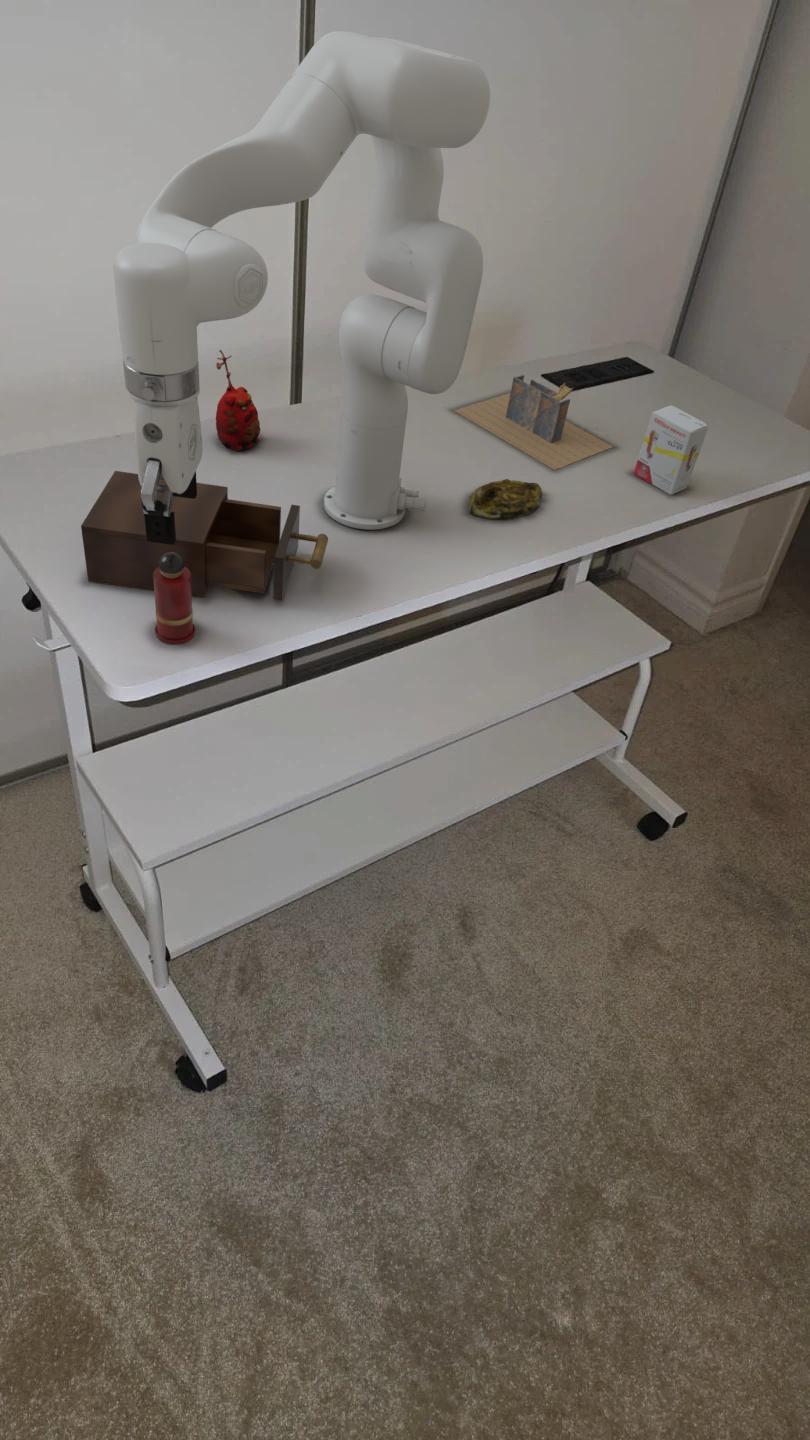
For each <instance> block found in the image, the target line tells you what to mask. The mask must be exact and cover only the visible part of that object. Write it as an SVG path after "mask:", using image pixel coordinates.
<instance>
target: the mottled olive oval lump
mask: <svg viewBox="0 0 810 1440" xmlns="http://www.w3.org/2000/svg"><path fill="white" fill-rule="evenodd" d="M542 497H543V490H542V487H541V485H540V484H539V483H537V482H527V481H526V482H525V481H521V480H514V479H508V478H505V479H502V480H497V481H492V482H491V481H490V482H488V483H486V484H483V485H481V486H479V487H478V488H475V490H473V492H472V494H471V495H470V497H469V500H468V511H469V513H470V514H471V515H473V516H476V517H479V518H483V519H487V520H498V521H499V520H500V521H506V520H511V519H512V520H513V519H515V518H517V517H520V516H524V515H525V516H526V515H529V514H531V513H532V512H534V511H536V510H537V509H538V508H539V506H540V504H541V501H542Z"/></svg>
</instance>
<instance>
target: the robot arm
mask: <svg viewBox="0 0 810 1440" xmlns="http://www.w3.org/2000/svg"><path fill="white" fill-rule="evenodd" d="M490 89H491V88H490V83H489V80H488V77H487V75H486V72H485V71H484V69H483V68H482V65H480V64H478V63H477V62H476V61H475V60H473V59H470V58H467V57H463V56H460V55H456V54H453V53H449V52H444V51H441V50H436V49H434V48H429V47H427V46H423V45H419V44H416V43H411V42H407V41H403V40H401V39H396V38H391V37H382V36H381V37H375V36H374V37H373V36H370V35H366V34H363V33H362V34H361V33H358V32H354V31H348V30H335V31H331V32H328V33H326V34H325V35H322V36H321V37H320V38H319V39H318V40H317V41H316V42H315V43H314V44H313V46H312V47H311V48H310V50H309V51H308V52H307V54H306V55H305V56H304V58H303V60H302V61H301V62H300V63H299V65H298V66H297V68H296V69H295V70H294V71H293V73H292V75H291V76H290V77H289V79H288V80H287V82H286V83H285V85H284V86H283V87H282V89H281V90H280V92H279V93H278V94H277V96H276V97H275V98H274V100H273V101H272V103H271V104H270V105H269V107H268V108H267V110H266V111H265V113H264V114H263V116H262V117H261V119H260V120H259V121H258V122H257V124H256V125H255V126H254V127H253V128H252V129H251V130H249V132H247V133H245V134H243V135H241V136H238V137H236V138H234V139H231V140H229V141H227V142H224V143H223V144H221V145H219V146H217V147H215V148H213V149H212V150H210V151H208V152H207V153H204V154H202V155H201V156H198V157H196V158H195V159H194V160H192V161H191V162H188V163H187V164H186V165H185V166H183V167H182V168H181V169H179V170H178V171H177V172H176V173H175V174H174V175H173V176H172V177H171V178H170V179H169V180H168V181H167V183H166V184H165V185H164V187H163V188H162V189H161V191H160V192H159V194H158V195H157V197H156V198H155V199H154V201H153V202H152V203H151V204H150V206H149V208H148V209H147V211H146V212H145V214H144V216H143V218H142V220H141V221H140V222H139V225H138V228H137V230H136V233H135V236H134V240H133V244H130V245H128V246H125V247H123V248H122V249H121V250H119V252H118V253H116V256H115V257H114V260H113V279H114V289H115V298H116V308H117V318H118V327H119V338H120V347H121V355H122V356H121V357H122V365H123V374H124V383H125V392H126V394H127V396H128V397H129V398H131V400H133V415H134V416H133V417H134V418H133V422H134V423H133V424H134V442H135V443H134V444H135V446H134V447H135V459H136V470H137V474H138V477H139V482H140V485H141V486H142V490H141V499H142V505H143V506H142V507H143V513H144V517H145V527H146V537H147V540H148V541H149V542H155V543H162V544H169V545H174V544H175V542H176V530H175V516H174V512H171V506H172V497H173V496H176V497H183V498H191V499H195V498H196V496H197V483H198V481H197V469H198V467H199V465H200V463H201V460H202V457H203V451H204V449H203V439H202V425H201V417H200V406H199V399H198V397H199V394H200V392H201V387H200V386H201V385H200V367H199V366H200V365H199V347H198V345H199V344H198V326H199V325H200V324H201V323H208V322H217V321H225V320H232V319H237V318H239V317H242V316H244V315H246V314H248V313H249V312H251V311H252V310H254V309H255V308H256V307H258V305H259V304H260V302H261V301H262V300H263V298H264V296H265V294H266V291H267V289H268V282H269V281H268V280H269V276H268V275H269V273H268V267H267V265H266V262H265V260H264V258H263V257H262V255H261V253H260V252H259V251H257V249H255V247H254V246H252V245H250V244H249V243H248V242H245V241H244V240H242V239H240V238H237V237H233V236H231V235H229V234H226V233H223V232H221V231H218V230H217V229H214V228H213V227H214V226H215V225H216V224H219V223H220V222H221V221H223V220H224V219H226V218H228V217H230V216H232V215H234V214H237V213H240V212H244V211H246V210H252V209H258V208H267V207H273V206H274V207H276V206H282V205H288V204H293V203H298V202H301V201H306V200H308V199H310V198H313V197H314V196H316V194H317V193H318V192H319V191H320V190H321V188H322V187H323V185H324V184H325V182H326V181H327V180H328V178H329V176H331V174H332V172H333V171H334V170H335V168H336V167H337V165H338V163H340V160H341V159H342V157H344V155H345V153H346V152H347V150H348V149H349V147H350V146H351V145H352V143H354V141H355V139H356V138H357V137H358V136H359V135H361V134H362V135H363V134H364V135H369V136H371V140H372V144H373V148H374V155H375V169H374V170H375V171H374V181H373V185H372V186H373V187H372V193H371V198H370V205H369V207H370V208H369V212H368V218H367V223H366V224H367V226H366V231H365V237H364V244H363V245H364V246H363V255H362V258H363V260H362V262H363V269H364V272H365V274H366V275H367V277H368V278H369V279H370V280H372V281H373V282H375V283H376V284H377V285H380V286H381V287H384V288H385V289H388V290H391V291H394V292H396V293H398V294H401V295H405V296H407V297H408V298H412V299H415V300H416V301H417V300H418V301H420V302H423V303H425V304H426V311H424V310H422V309H419V308H417V307H415V306H412V305H409V304H406V303H404V302H402V301H399V300H396V299H394V298H390V297H387V296H384V295H378V294H364V295H361V296H357V297H356V298H354V299H352V300H351V301H350V302H349V303H348V304H347V306H346V307H345V309H344V310H343V312H342V315H341V318H340V320H339V327H338V344H339V353H340V361H341V373H342V374H341V375H342V384H341V385H342V389H341V405H340V417H339V431H338V443H337V444H338V445H337V459H336V469H335V470H336V473H335V485H334V486H332V487H330V488H329V489H328V490H327V491H326V493H325V495H324V498H323V508H324V511H325V512H326V513H327V514H328V516H329V517H330V518H331V519H333V520H334V521H335V522H336V523H339V524H341V525H343V526H347V527H349V528H354V529H358V530H366V531H367V530H373V531H374V530H375V531H376V530H383V529H387V528H390V527H394V526H395V525H397V524H398V523H400V522H401V521H402V520H403V518H404V517H405V514H406V509H408V510H413V511H419V512H425V510H426V505H427V504H426V503H427V498H423V497H419V496H420V490H414V489H411V490H410V489H405V487H403V486H402V477H400V475H401V466H402V458H403V450H404V442H405V435H406V428H407V427H406V426H407V420H408V411H409V400H408V392H407V388H406V387H409V388H412V389H414V390H417V391H420V392H422V393H425V394H429V395H439V394H443V393H445V392H446V391H447V390H449V389H450V388H451V387H452V386H453V385H454V383H455V381H456V380H457V378H458V376H459V373H460V371H461V368H462V365H463V362H464V359H465V354H466V350H467V346H468V341H469V337H470V333H471V329H472V324H473V320H474V316H475V312H476V306H477V303H478V298H479V294H480V290H481V284H482V280H483V279H482V278H483V274H484V273H483V272H484V256H483V250H482V247H481V244H480V243H479V242H480V241H479V240H478V238H477V237H476V236H475V235H474V234H473V233H471V231H468V230H467V229H465V228H464V227H460V226H458V225H456V224H452V223H449V222H446V221H442V220H441V219H440V217H439V207H440V203H441V196H442V189H443V183H444V175H445V169H444V160H443V154H442V149H456V148H461V147H464V146H466V145H467V144H469V143H470V142H472V141H473V140H474V139H475V138H476V137H477V135H478V134H479V133H480V131H481V130H482V128H483V126H484V124H485V122H486V120H487V117H488V113H489V109H490V104H491V103H490V102H491V91H490ZM441 148H442V149H441ZM159 480H163V481H165V482H166V484H167V486H163V485H158V483H159ZM157 492H164V493H165V501H164V504H163V503H162V502H161V501H160V500H157Z"/></svg>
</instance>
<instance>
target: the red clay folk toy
mask: <svg viewBox="0 0 810 1440" xmlns="http://www.w3.org/2000/svg"><path fill="white" fill-rule="evenodd" d="M218 352H219V353H220V354H221V355H222V357H217V360H220V361H221V360H222V362H216V363H215V364H216V366H215V367H216V369H217V370H218V371H219V370H221V369H222V366H224V367H225V372H226V379H227V381H228V382H227V383H228V386H227V387H226V390H225V392H224V394H223V395H222V396H221V398H220V399H219V401H218V403H217V407H216V412H215V429H216V433H217V438H218V440H219V441H220V442H221V444H222V445H223V446H224V447H225V448H228V449H231V450H232V451H234V452H235V451H237V452H240V451H242V450H248V449H251V448H252V447H253V445H254V444H257V443H258V442H259V441H260V440H259V436H260V434H261V427H260V426H261V422H260V419H259V412H258V410H257V407H256V406H255V404H254V401H253V399H252V395H251V393H248V392H249V391H248V389H246V388H245V387H244V386H239V387H237V388H235V386H233V383H232V381H231V375H232V372H231V371H230V372H229V368H228V364H227V361H228V360H229V359H230V358H232V355H229V356H228V357H226V356H225V354H224V352H223V351H222V349H220V350H218Z"/></svg>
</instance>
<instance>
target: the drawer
mask: <svg viewBox="0 0 810 1440" xmlns="http://www.w3.org/2000/svg"><path fill="white" fill-rule="evenodd" d="M300 514H301V506H300V505H298V504H291V505H290V508H289V511H288V514H287V517H286V520H285V524H284V527H283V530H282V533H281V527H282V526H281V524H282V507H281V506H277V505H271V504H264V503H257V502H250V501H244V500H243V501H242V500H236V499H229V498H228V499H224V501H223V504H222V506H221V508H220V511H219V513H218V515H217V518H216V520H215V522H214V525H213V527H212V529H211V532H210V534H209V536H208V539H207V541H206V543H205V573H206V585H209V587H216V588H217V587H218V588H222V589H231V590H237V591H238V590H239V591H245V592H252V593H259V594H265V592H266V590H267V587H268V583H269V580H270V577H271V574H272V571H273V588H272V589H273V591H272V599H273V600H274V601H280V602H281V601H283V598H284V595H285V592H286V589H287V586H288V583H289V582H288V581H289V578H290V576H291V572H292V569H293V566H294V563H297V564H305V565H310V567H311V568H312V569H314V570H318V569H321V568H322V565H323V561H324V557H325V554H326V549H327V545H328V542H329V536H328V535H327V534H326V533H319V534H318V535H317V536H316V535H309V534H302V533H300V518H301V517H300V516H301V515H300ZM299 541H306V542H312V543H315V544H314V548H313V552H312V555H311V558H308V557H302V556H297V553H298V549H299Z"/></svg>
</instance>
